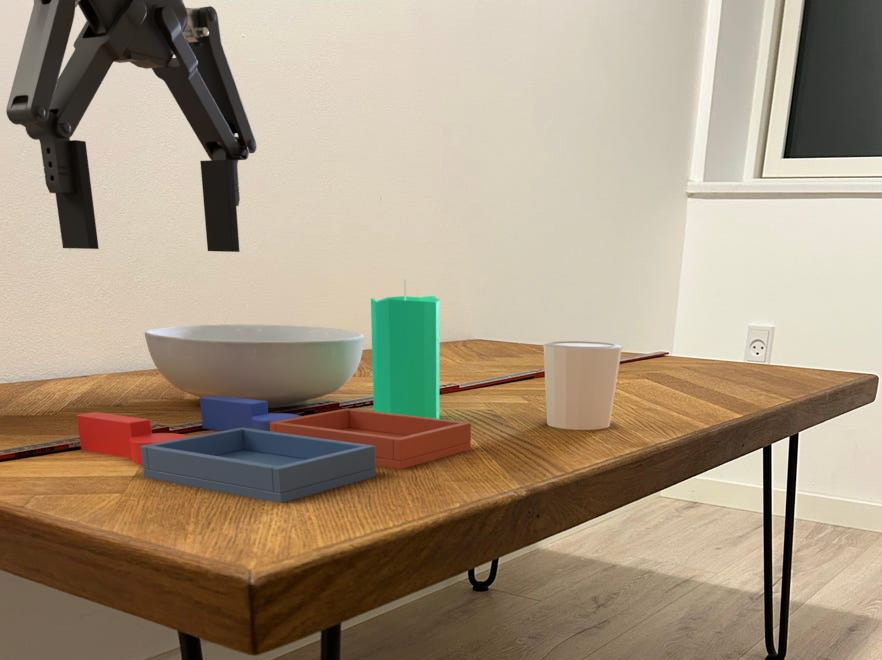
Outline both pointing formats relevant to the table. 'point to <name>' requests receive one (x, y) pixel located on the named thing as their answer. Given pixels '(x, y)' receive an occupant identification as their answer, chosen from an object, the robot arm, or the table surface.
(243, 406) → the blue rounded step block
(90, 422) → the red rounded step block
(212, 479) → the blue tray
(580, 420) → the white cup
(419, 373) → the candle
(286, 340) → the serving bowl
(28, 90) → the robot arm
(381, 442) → the red tray
